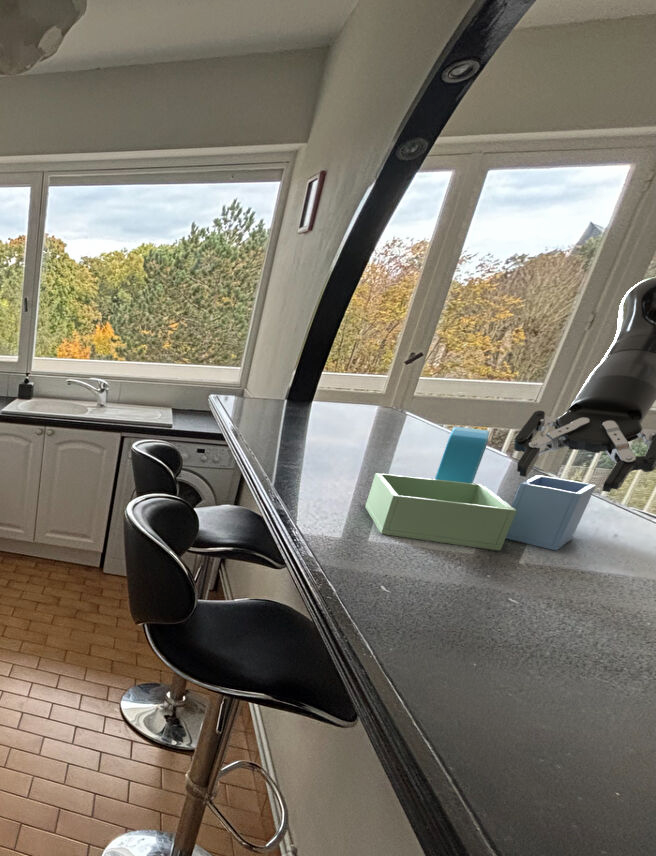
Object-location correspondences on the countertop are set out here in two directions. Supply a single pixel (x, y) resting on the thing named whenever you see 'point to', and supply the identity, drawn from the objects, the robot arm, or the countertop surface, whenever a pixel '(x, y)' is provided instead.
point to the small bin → (548, 511)
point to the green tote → (439, 511)
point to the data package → (462, 455)
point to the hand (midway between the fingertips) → (563, 480)
